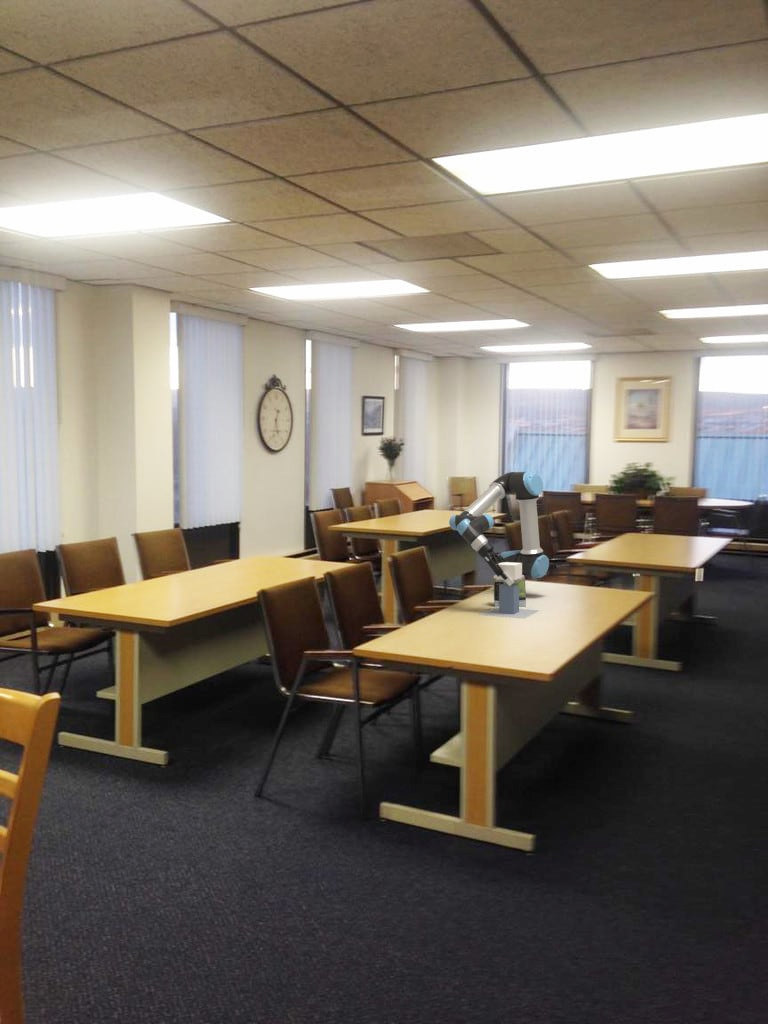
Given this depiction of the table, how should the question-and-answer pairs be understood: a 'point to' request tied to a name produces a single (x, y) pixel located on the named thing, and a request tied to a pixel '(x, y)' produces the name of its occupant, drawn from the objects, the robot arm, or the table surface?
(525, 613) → the mat
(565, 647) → the table surface
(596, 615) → the table surface
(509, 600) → the carton
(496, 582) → the tea box
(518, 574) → the cap
